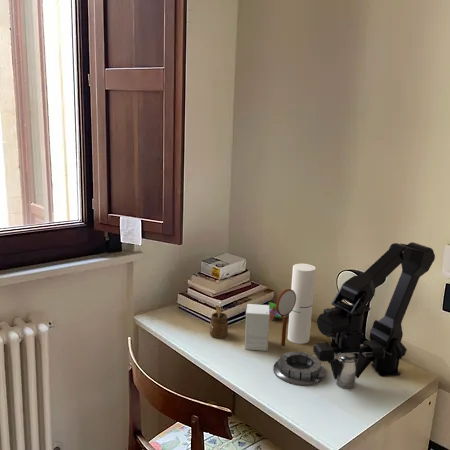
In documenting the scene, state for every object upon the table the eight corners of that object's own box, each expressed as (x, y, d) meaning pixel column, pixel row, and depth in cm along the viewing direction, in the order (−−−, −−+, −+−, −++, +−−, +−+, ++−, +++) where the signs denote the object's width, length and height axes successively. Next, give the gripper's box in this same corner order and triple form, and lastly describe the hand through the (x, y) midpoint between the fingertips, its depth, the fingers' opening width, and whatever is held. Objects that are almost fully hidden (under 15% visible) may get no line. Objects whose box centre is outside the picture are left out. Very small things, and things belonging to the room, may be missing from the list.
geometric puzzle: (276, 320, 178) (284, 298, 181) (259, 315, 182) (266, 294, 184) (283, 325, 184) (290, 305, 186) (266, 320, 188) (273, 300, 190)
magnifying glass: (275, 353, 160) (279, 293, 155) (271, 351, 161) (275, 291, 156) (293, 345, 166) (298, 287, 161) (289, 343, 167) (294, 285, 162)
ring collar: (315, 357, 159) (316, 348, 158) (332, 384, 144) (333, 374, 144) (267, 359, 156) (268, 350, 155) (281, 387, 142) (281, 377, 141)
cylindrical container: (310, 344, 167) (317, 271, 160) (288, 343, 167) (294, 270, 161) (307, 334, 174) (313, 264, 167) (286, 333, 174) (291, 263, 167)
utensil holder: (228, 331, 173) (229, 298, 170) (226, 340, 167) (227, 305, 164) (210, 329, 174) (212, 296, 171) (208, 338, 168) (209, 304, 165)
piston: (350, 379, 147) (353, 351, 145) (357, 388, 142) (360, 360, 140) (333, 380, 146) (336, 352, 144) (340, 389, 142) (343, 361, 139)
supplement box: (267, 340, 168) (270, 304, 165) (267, 351, 161) (269, 314, 158) (245, 338, 169) (247, 303, 166) (243, 349, 162) (245, 312, 158)
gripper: (370, 313, 149) (365, 361, 153) (309, 315, 146) (305, 364, 150) (388, 330, 139) (382, 382, 143) (322, 333, 135) (317, 386, 139)
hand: (346, 377), depth 144 cm, fingers open, 6 cm apart
